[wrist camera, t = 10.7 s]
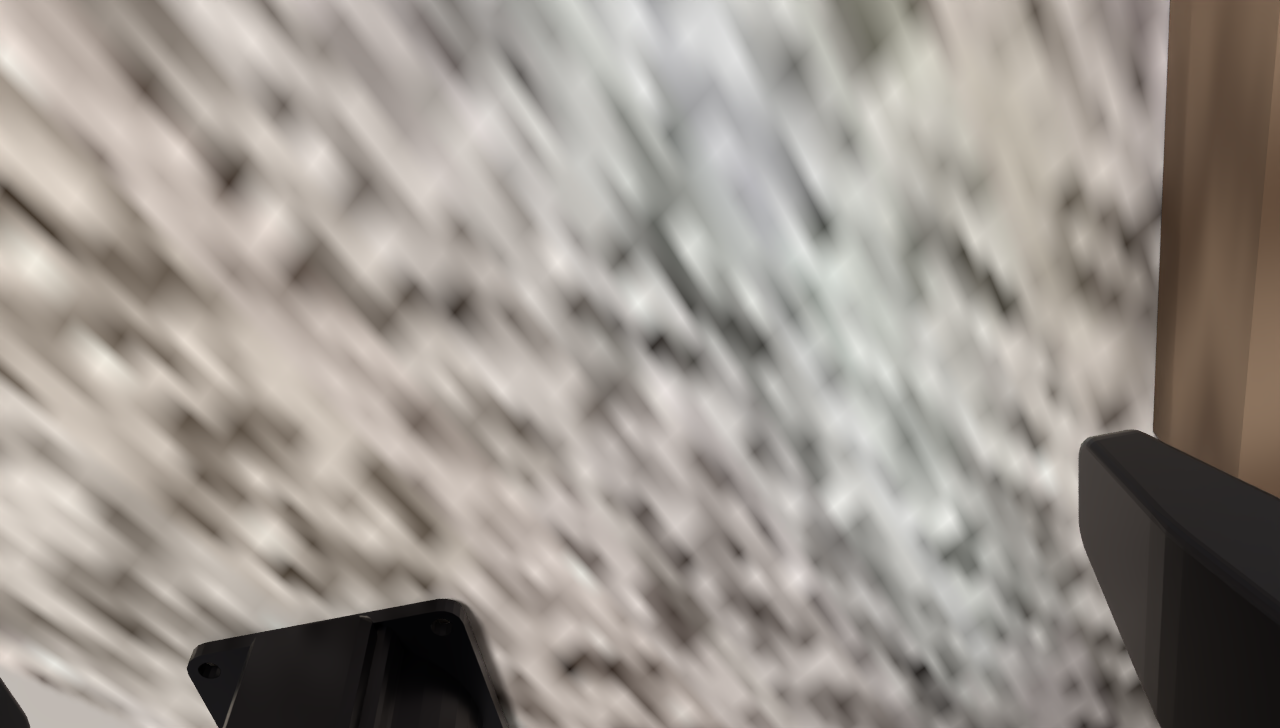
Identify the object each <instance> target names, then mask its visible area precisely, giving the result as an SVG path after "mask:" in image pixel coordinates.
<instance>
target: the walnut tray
mask: <svg viewBox="0 0 1280 728" xmlns="http://www.w3.org/2000/svg"><path fill="white" fill-rule="evenodd" d="M1153 432H1154V433H1155V434H1156V435H1157V437H1158V438H1159V439H1160V441H1162V442H1165V443H1167V444H1169V445H1171V446H1173V447H1175V448H1177V449H1179V450H1181V451H1183V452H1185V453H1187V454H1189V455H1191V456H1193V457H1196V458H1198V459H1200V460H1202V461H1204V462H1206V463H1208V464H1210V465H1212V466H1214V467H1216V468H1218V469H1220V470H1222V471H1225V472H1227V473H1229V474H1231V475H1233V476H1235V477H1237V478H1239V479H1241V480H1243V481H1245V482H1247V483H1249V484H1251V485H1253V486H1256V487H1258V488H1260V489H1262V490H1264V491H1266V492H1268V493H1270V494H1272V495H1274V496H1276V497H1278V498H1280V0H1170V21H1169V47H1168V72H1167V97H1166V122H1165V147H1164V172H1163V197H1162V222H1161V247H1160V272H1159V297H1158V322H1157V347H1156V372H1155V397H1154V422H1153Z"/></svg>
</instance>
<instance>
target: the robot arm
mask: <svg viewBox="0 0 1280 728" xmlns="http://www.w3.org/2000/svg"><path fill="white" fill-rule="evenodd" d="M1079 527H1080V533H1081V538H1082V542H1083V545H1084V548H1085V551H1086V553H1087V556H1088V558H1089V561H1090V563H1091V565H1092V568H1093V570H1094V572H1095V575H1096V577H1097V580H1098V582H1099V584H1100V587H1101V589H1102V592H1103V594H1104V596H1105V599H1106V601H1107V604H1108V606H1109V608H1110V611H1111V613H1112V615H1113V618H1114V620H1115V623H1116V625H1117V627H1118V630H1119V632H1120V635H1121V637H1122V639H1123V642H1124V644H1125V647H1126V649H1127V651H1128V654H1129V656H1130V658H1131V661H1132V663H1133V666H1134V668H1135V670H1136V673H1137V675H1138V678H1139V680H1140V682H1141V685H1142V687H1143V689H1144V692H1145V694H1146V696H1147V699H1148V701H1149V703H1150V705H1151V708H1152V710H1153V712H1154V714H1155V717H1156V719H1157V721H1158V723H1159V724H1160V726H1161V728H1280V498H1278V497H1276V496H1274V495H1272V494H1270V493H1268V492H1266V491H1264V490H1262V489H1260V488H1258V487H1256V486H1253V485H1251V484H1249V483H1247V482H1245V481H1243V480H1241V479H1239V478H1237V477H1235V476H1233V475H1231V474H1229V473H1227V472H1225V471H1222V470H1220V469H1218V468H1216V467H1214V466H1212V465H1210V464H1208V463H1206V462H1204V461H1202V460H1200V459H1198V458H1196V457H1193V456H1191V455H1189V454H1187V453H1185V452H1183V451H1181V450H1179V449H1177V448H1175V447H1173V446H1171V445H1169V444H1167V443H1165V442H1162V441H1160V440H1158V439H1156V438H1154V437H1152V436H1150V435H1148V434H1146V433H1144V432H1141V431H1138V430H1124V431H1119V432H1113V433H1108V434H1103V435H1098V436H1093V437H1089V438H1087V439H1086V440H1085V441H1084V442H1083V443H1082V444H1081V447H1080V451H1079ZM438 619H446V620H448V621H450V622H449V623H439V622H437V621H435V620H438ZM207 663H213V664H215V665H217V666H211V665H209V664H207ZM187 671H188V674H189V676H190V678H191V680H192V682H193V683H194V685H195V687H196V689H197V690H198V692H199V694H200V696H201V697H202V699H203V701H204V703H205V705H206V706H207V708H208V710H209V712H210V713H211V715H212V717H213V719H214V720H215V722H216V724H217V726H218V728H509V727H508V725H507V722H506V719H505V717H504V714H503V711H502V709H501V706H500V703H499V701H498V698H497V695H496V693H495V690H494V687H493V685H492V682H491V679H490V677H489V674H488V671H487V669H486V666H485V663H484V661H483V658H482V655H481V653H480V650H479V647H478V645H477V642H476V639H475V637H474V634H473V631H472V629H471V626H470V623H469V621H468V618H467V615H466V613H465V611H464V609H463V608H462V606H461V605H460V604H458V603H457V602H455V601H453V600H449V599H435V600H430V601H425V602H419V603H414V604H409V605H404V606H398V607H393V608H388V609H382V610H377V611H372V612H366V613H361V614H356V615H350V616H345V617H340V618H334V619H329V620H324V621H318V622H313V623H308V624H303V625H297V626H292V627H287V628H281V629H276V630H271V631H265V632H260V633H255V634H249V635H244V636H239V637H233V638H228V639H223V640H217V641H212V642H207V643H204V644H201V645H198V646H197V647H196V648H195V649H194V650H193V653H192V655H191V658H190V660H189V663H188V667H187ZM0 728H30V725H29V722H28V719H27V716H26V715H25V713H24V711H23V710H22V708H21V707H20V705H19V704H18V702H17V701H16V700H15V698H14V697H13V696H12V694H11V692H10V691H9V689H8V688H7V687H6V685H5V684H4V682H3V681H2V679H1V678H0Z"/></svg>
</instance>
